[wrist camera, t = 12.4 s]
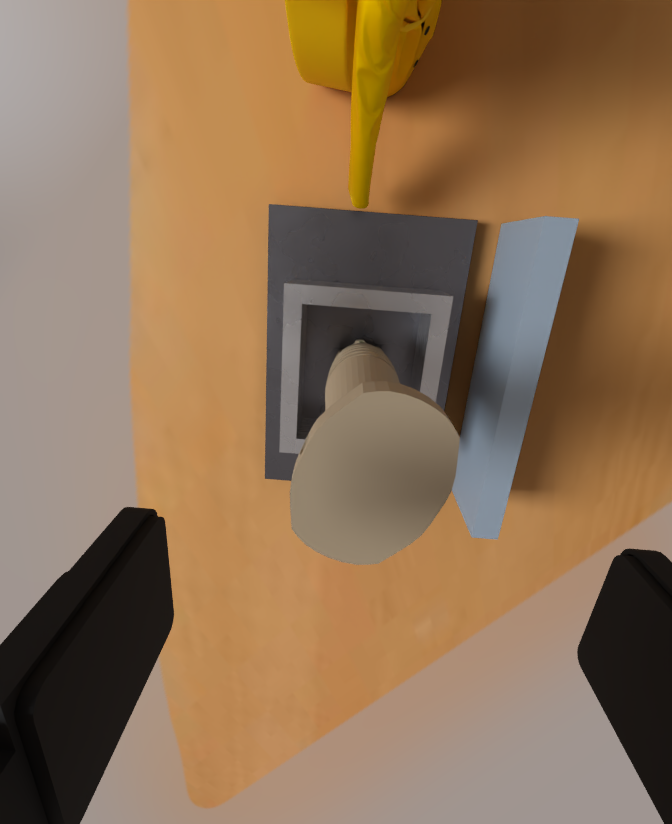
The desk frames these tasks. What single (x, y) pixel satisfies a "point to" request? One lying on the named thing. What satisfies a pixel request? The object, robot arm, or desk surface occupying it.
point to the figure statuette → (361, 61)
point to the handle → (371, 462)
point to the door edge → (509, 364)
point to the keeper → (356, 308)
